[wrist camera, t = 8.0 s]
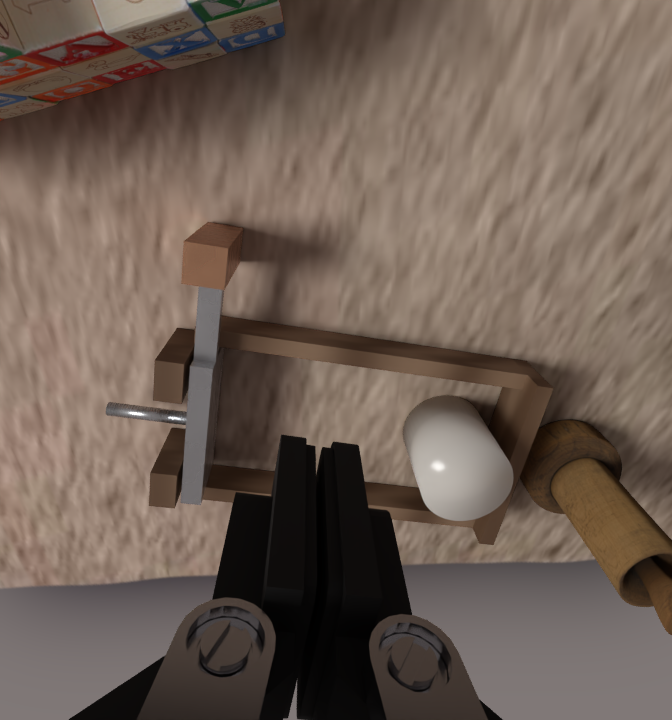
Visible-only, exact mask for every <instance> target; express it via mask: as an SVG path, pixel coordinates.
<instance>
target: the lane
mask: <svg viewBox="0 0 672 720" xmlns="http://www.w3.org/2000/svg"><path fill="white" fill-rule="evenodd" d="M195 333H196V326H195V330H188V329H181V328H177V329H176V331H175V332H174V334H173V335H172V336H171V338H170V339H169V341H168V342H167V344H166V345H165V346H164V348H163V349H162V351H161V352H160V354H159V355H158V356H157V358H156V359H155V369H154V394H153V400H154V401H162V402H170V403H178V404H182V402H183V400H184V397H185V395H186V393H187V391H188V389H189V375H190V365H191V363H192V362H193V360H194V347H195ZM219 347H223V348H230V349H238V350H245V351H252V352H259V353H266V354H273V355H280V356H287V357H294V358H301V359H308V360H316V361H323V362H330V363H337V364H344V365H351V366H358V367H365V368H372V369H379V370H387V371H394V372H401V373H408V374H415V375H422V376H429V377H436V378H443V379H450V380H458V381H465V382H472V383H479V384H486V385H493V386H500V387H502V390H501V393H500V396H499V399H498V402H497V405H496V408H495V411H494V414H493V417H492V419H491V422H490V425H489V428H488V429H489V430H490V432H491V434H492V435H493V437H494V438H495V440H496V442H497V443H498V445H499V446H500V448H501V449H502V451H503V453H504V454H505V456H506V457H507V459H508V460H509V462H510V464H511V466H512V469H513V485H512V488H511V491H510V493H509V495H508V496H507V498H506V499H505V501H504V502H503V503H502V504H501V505H500V506H499V507H498V508H496V509H495V510H494V511H492V512H491V513H489V514H487V515H485V516H483V517H480V518H477V519H473V520H468V521H453V520H448V519H444V518H442V517H439V516H438V515H436V514H434V513H433V512H432V511H431V510H430V509H429V508H428V507H427V506H426V504H425V503H424V501H423V499H422V496H421V493H420V489H419V488H413V487H404V486H395V485H386V484H378V483H369V482H365V489H366V495H367V501H368V508H373V509H382V510H388V511H389V512H390V515H391V518H392V519H394V520H403V521H413V522H422V523H432V524H441V525H451V526H460V527H470V528H473V530H474V532H475V534H476V537H477V539H478V541H479V543H480V544H490V545H494V542H495V539H496V537H497V534H498V532H499V529H500V526H501V524H502V521H503V519H504V516H505V513H506V511H507V508H508V506H509V503H510V500H511V498H512V495H513V493H514V490H515V488H516V485H517V482H518V480H519V477H520V475H521V472H522V469H523V467H524V464H525V462H526V459H527V456H528V454H529V451H530V449H531V446H532V443H533V441H534V438H535V436H536V433H537V430H538V428H539V425H540V423H541V420H542V418H543V415H544V412H545V410H546V407H547V405H548V402H549V399H550V397H551V394H552V392H553V389H554V388H553V387H552V386H551V385H550V384H549V383H548V382H547V381H546V380H545V379H544V378H543V377H542V376H541V375H540V374H539V373H538V372H537V371H536V370H535V369H534V368H533V367H532V366H531V365H530V364H529V363H528V362H527V361H522V360H516V359H509V358H502V357H495V356H489V355H482V354H475V353H468V352H462V351H455V350H448V349H441V348H435V347H428V346H421V345H414V344H408V343H401V342H394V341H387V340H381V339H374V338H367V337H360V336H354V335H347V334H340V333H334V332H327V331H320V330H313V329H307V328H300V327H293V326H286V325H280V324H273V323H266V322H259V321H253V320H246V319H239V318H232V317H226V316H222V318H221V329H220V340H219ZM185 433H186V429H177V428H171V430H170V433H169V435H168V437H167V439H166V441H165V443H164V445H163V447H162V449H161V452H160V454H159V456H158V458H157V460H156V462H155V464H154V466H153V468H152V471H151V473H150V496H149V506H157V507H166V508H175V506H176V503H177V501H178V498H179V495H180V492H181V490H182V476H183V462H184V447H185ZM274 474H275V472H272V471H263V470H254V469H245V468H236V467H228V466H219V465H212V468H211V472H210V475H209V478H208V482H207V485H206V489H205V492H204V496H203V500H213V501H222V502H232V503H233V502H234V497H235V493H236V492H240V493H248V494H256V495H265V496H271V492H272V486H273V480H274Z"/></svg>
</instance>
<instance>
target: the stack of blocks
mask: <svg viewBox="0 0 672 720" xmlns="http://www.w3.org/2000/svg"><path fill="white" fill-rule="evenodd" d="M284 35H285V29H284V22H283V14H282V9H281V5H280V1H279V0H0V121H1V120H4V119H7V118H12V117H16V116H20V115H23V114H27V113H30V112H34V111H37V110H41V109H44V108H47V107H51V106H54V105H57V104H58V103H59V102H60V101H61V100H64V99H70V98H72V97H76V96H79V95H82V94H86V93H89V92H93V91H96V90H99V89H103V88H107V87H110V86H112V85H113V84H114V83H118V82H122V81H126V80H129V79H133V78H136V77H140V76H143V75H146V74H149V73H154V72H156V71H160V70H164V69H166V68H169V69H172V70H173V69H177V68H180V67H184V66H188V65H191V64H195V63H198V62H202V61H205V60H208V59H212V58H215V57H219V56H222V55H225V54H227V53H228V52H232V51H236V50H239V49H243V48H246V47H250V46H253V45H257V44H260V43H263V42H267V41H270V40H273V39H277V38H280V37H283V36H284Z"/></svg>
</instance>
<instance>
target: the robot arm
mask: <svg viewBox="0 0 672 720" xmlns="http://www.w3.org/2000/svg"><path fill="white" fill-rule="evenodd" d="M296 681H297V719H303V720H502V719H501V718H500V717H499V716H498V715H497V714H496V713H494V712H493V711H492V710H491V709H490V708H489V707H487V706H486V705H485V704H484V703H483V702H482V701H481V700H479V698H478V696H477V694H476V692H475V689H474V687H473V685H472V682H471V680H470V678H469V675H468V673H467V671H466V669H465V666H464V664H463V662H462V660H461V657H460V655H459V653H458V651H457V649H456V648H455V646H454V644H453V643H452V641H451V639H450V638H449V637H448V636H447V635H446V634H445V633H444V632H443V631H442V630H441V629H440V628H438V627H437V626H435V625H434V624H432V623H431V622H429V621H428V620H425V619H422V618H420V617H417V616H414V615H412V612H411V608H410V602H409V598H408V593H407V588H406V584H405V579H404V575H403V570H402V565H401V560H400V556H399V551H398V546H397V542H396V537H395V532H394V528H393V523H392V518H391V515H390V512H389V511H388V510H382V509H373V508H368V501H367V495H366V489H365V482H364V476H363V470H362V463H361V457H360V451H359V446H358V445H354V444H347V443H339V442H333V443H332V445H331V448H326V447H323V448H322V450H321V455H320V459H319V464H318V469H317V474H316V454H315V446H311V445H306V438H302V437H295V436H287V435H281V439H280V444H279V450H278V456H277V462H276V468H275V474H274V480H273V486H272V492H271V496H265V495H256V494H248V493H240V492H236V493H235V497H234V502H233V506H232V511H231V515H230V520H229V525H228V529H227V534H226V539H225V543H224V548H223V552H222V557H221V562H220V566H219V571H218V576H217V580H216V585H215V589H214V594H213V599H212V600H210V601H208V602H206V603H203V604H201V605H199V606H197V607H196V608H195V609H194V610H192V611H191V612H190V613H189V614H188V615H186V617H185V618H184V620H183V621H182V623H181V624H180V626H179V627H178V629H177V631H176V634H175V636H174V638H173V640H172V642H171V645H170V647H169V649H168V651H167V654H166V655H165V656H164V657H162V658H161V659H159V660H158V661H156V662H155V663H153V664H152V665H150V666H149V667H147V668H146V669H144V670H143V671H141V672H140V673H138V674H137V675H135V676H134V677H132V678H131V679H129V680H128V681H126V682H125V683H123V684H122V685H120V686H118V687H117V688H115V689H114V690H113V691H111V692H109V693H108V694H106V695H105V696H103V697H102V698H100V699H99V700H97V701H96V702H94V703H93V704H91V705H90V706H88V707H87V708H85V709H84V710H82V711H81V712H79V713H78V714H76V715H75V716H73V717H72V718H70V719H69V720H283V718H288V716H289V712H290V707H291V703H292V698H293V694H294V690H295V686H296Z"/></svg>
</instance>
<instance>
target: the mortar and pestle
mask: <svg viewBox="0 0 672 720" xmlns="http://www.w3.org/2000/svg"><path fill="white" fill-rule="evenodd" d="M621 472H622V463H621V458H620V456H619V454H618V452H617V450H616V449H615V448H614V446H613V445H612V444H611V443H610V442H609V441H608V440H607V439H606V438H605V437H604V436H603V435H602V434H601V433H600V432H599V431H598V430H597V429H596V428H594V427H593V426H591V425H589V424H587V423H584V422H581V421H576V420H563V421H556V422H553V423H550V424H547V425H545V426H543V427H541V428H540V429H538V430H537V433H536V436H535V438H534V441H533V443H532V446H531V449H530V451H529V454H528V456H527V459H526V462H525V464H524V467H523V469H522V472H521V475H520V479H521V481H522V483H523V484H524V486H525V487H526V489H527V491H528V492H529V494H530V496H531V497H532V499H533V500H534V501H535V502H536V503H537V504H538V505H539V506H540V507H542V508H543V509H545V510H548V511H550V512H554V513H559V514H566V516H567V517H568V519H569V520H570V522H571V523H572V524H573V526H574V527H575V529H576V530H577V532H578V533H579V535H580V536H581V538H582V539H583V541H584V542H585V544H586V545H587V547H588V548H589V550H590V551H591V553H592V554H593V556H594V557H595V559H596V560H597V562H598V563H599V565H600V566H601V568H602V569H603V571H604V572H605V574H606V575H607V577H608V578H609V580H610V581H611V583H612V584H613V586H614V587H615V589H616V590H617V592H618V594H619V595H620V596H621V598H622V599H623V600H624V601H625V602H627V603H629V604H631V605H634V606H640V607H651V606H654V607H655V610H656V612H657V614H658V617H659V619H660V621H661V622H662V624H663V626H664V628H665V630H666V631H667V632H668V633H669V634H671V635H672V540H671V539H670V538H669V537H668V536H667V535H666V533H665V532H664V531H663V530H662V529H661V528H660V527H659V526H658V525H657V524H656V522H655V521H654V520H653V519H652V518H651V517H650V516H649V515H648V514H647V512H646V511H645V510H644V509H643V508H642V507H641V506H640V505H639V504H638V502H637V501H636V500H635V499H634V498H633V497H632V496H631V495H630V493H629V492H628V491H627V490H626V489H625V488H624V487H623V485H622V484H621V483H620V482H619V479H620V477H621Z"/></svg>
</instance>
